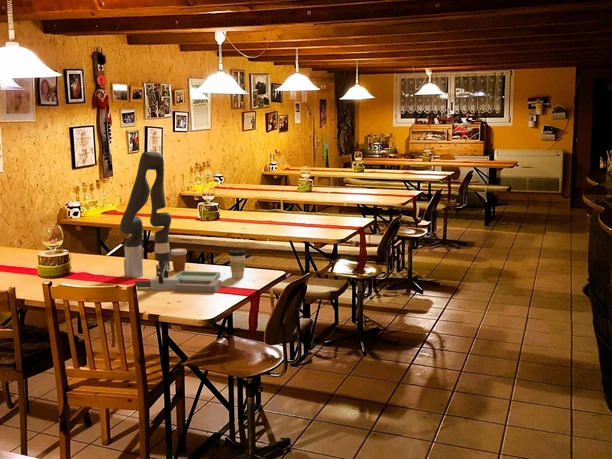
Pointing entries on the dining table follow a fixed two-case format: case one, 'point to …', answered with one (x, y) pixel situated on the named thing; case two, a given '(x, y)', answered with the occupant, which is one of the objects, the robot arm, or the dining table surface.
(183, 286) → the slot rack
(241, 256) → the coffee cup
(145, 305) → the dining table surface
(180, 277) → the tray
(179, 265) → the disposable coffee cup
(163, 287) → the tall grey bar
